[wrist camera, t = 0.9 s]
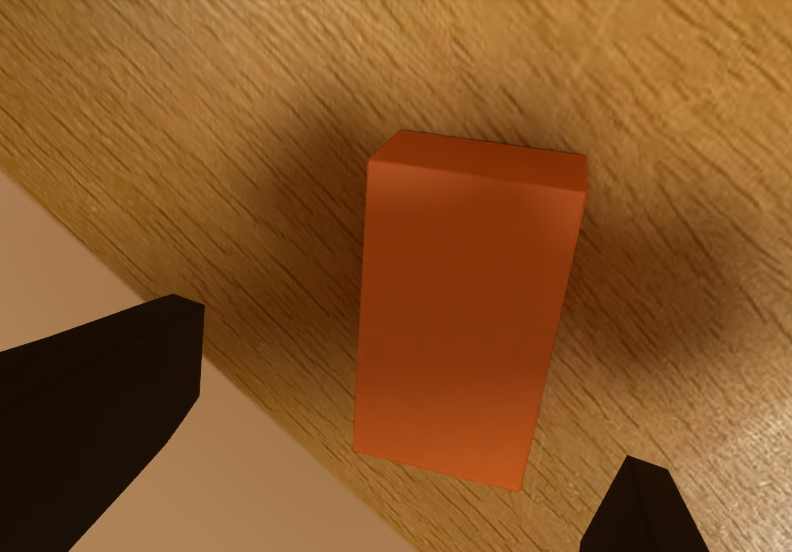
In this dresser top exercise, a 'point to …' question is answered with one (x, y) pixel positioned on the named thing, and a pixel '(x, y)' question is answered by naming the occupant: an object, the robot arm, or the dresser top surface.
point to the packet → (461, 300)
